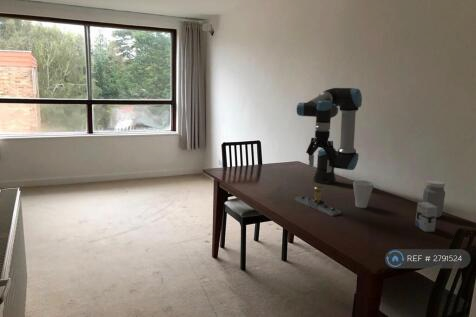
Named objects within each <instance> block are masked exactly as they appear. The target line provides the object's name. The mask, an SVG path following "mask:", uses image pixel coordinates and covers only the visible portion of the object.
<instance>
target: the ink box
mask: <svg viewBox="0 0 476 317" xmlns="http://www.w3.org/2000/svg"><path fill="white" fill-rule="evenodd" d="M437 209H438V208H437V207H436V206H434V205H432V204H430V203H428V202H422V201H418V202H417V205H416V211H415V212H416V214H415V221H414V226H416V227H417V228H419V229H420V230H422V231H423V232H426V233H427V232H429V233H430V232H431V233H432V232H433V233H434V232H435V231H436V230H435V229H436V223H437V218H436V216H437Z"/></svg>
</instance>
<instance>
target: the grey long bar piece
mask: <svg viewBox="0 0 476 317" xmlns="http://www.w3.org/2000/svg"><path fill="white" fill-rule="evenodd" d="M294 199H295V200H294V201H296V202H298V203H301V204H303V205H305V206H307V207H310V208H312V209H315V210H317V211H318V212H319V211H320V212H322V213H324V214H326V215H329V216H331V217H334V216H338V214H339V215H341V212H342V211H341V209H338V208H335V207H333V206H331V205H328V204H326V203H327V202H326V200H323V199H321V198H320V205H318V203H317V202H314V199H313V198H310V197H308V196H306V195H298V196H295V197H294Z"/></svg>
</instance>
